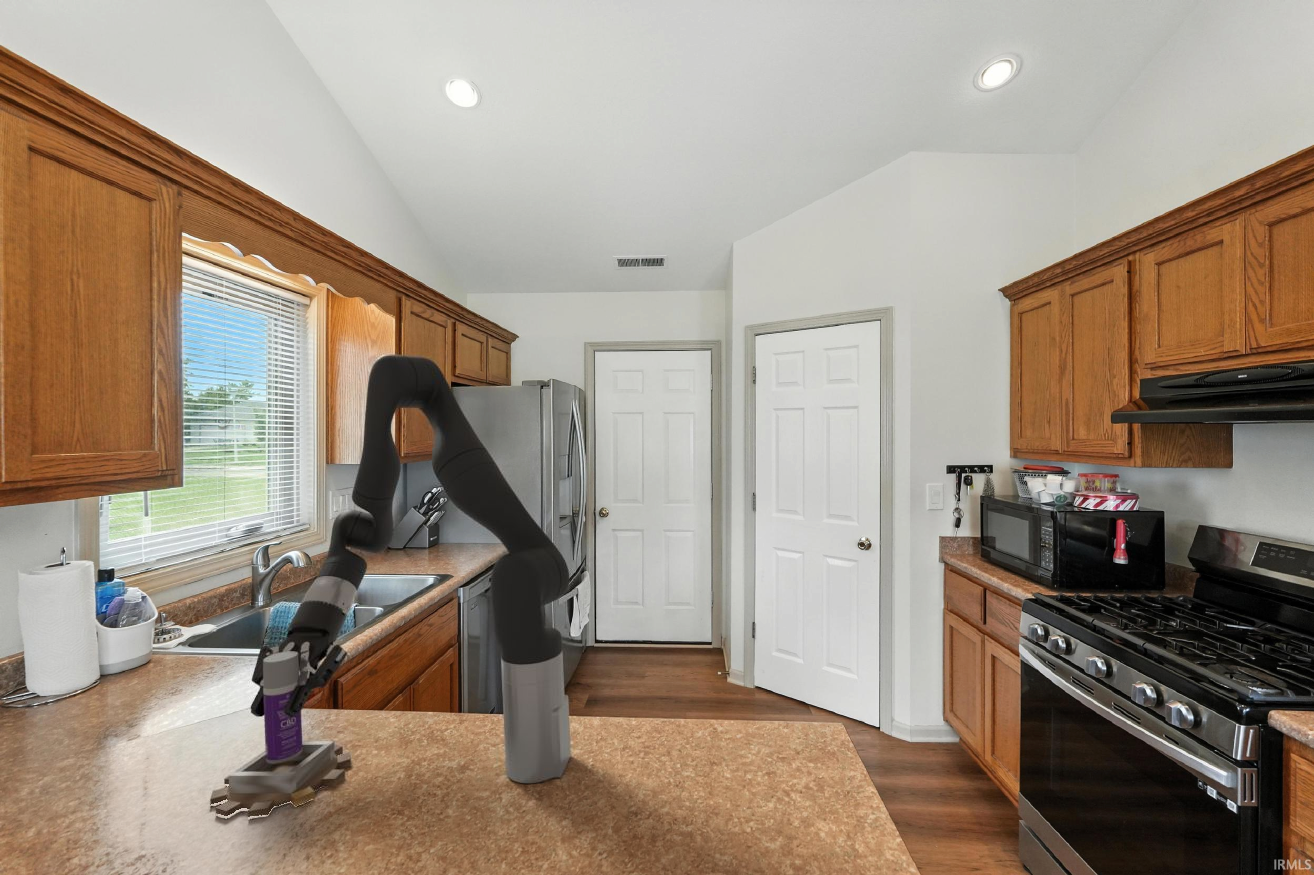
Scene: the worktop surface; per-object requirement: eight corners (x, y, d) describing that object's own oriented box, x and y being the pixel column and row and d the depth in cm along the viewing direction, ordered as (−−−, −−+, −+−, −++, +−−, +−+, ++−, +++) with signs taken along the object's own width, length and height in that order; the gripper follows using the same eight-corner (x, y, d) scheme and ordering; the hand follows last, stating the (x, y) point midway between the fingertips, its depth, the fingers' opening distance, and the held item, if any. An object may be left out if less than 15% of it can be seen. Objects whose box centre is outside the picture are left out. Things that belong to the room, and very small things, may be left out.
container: (284, 765, 83) (280, 663, 83) (257, 762, 84) (254, 662, 84) (309, 748, 88) (306, 651, 88) (284, 746, 89) (280, 650, 89)
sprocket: (373, 751, 94) (373, 728, 94) (298, 820, 76) (297, 792, 76) (274, 751, 95) (273, 729, 95) (177, 819, 78) (177, 792, 78)
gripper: (272, 599, 94) (212, 705, 82) (354, 597, 93) (305, 705, 81) (296, 621, 99) (243, 724, 87) (374, 620, 98) (330, 723, 86)
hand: (273, 714), depth 84 cm, fingers closed on container, 4 cm apart
